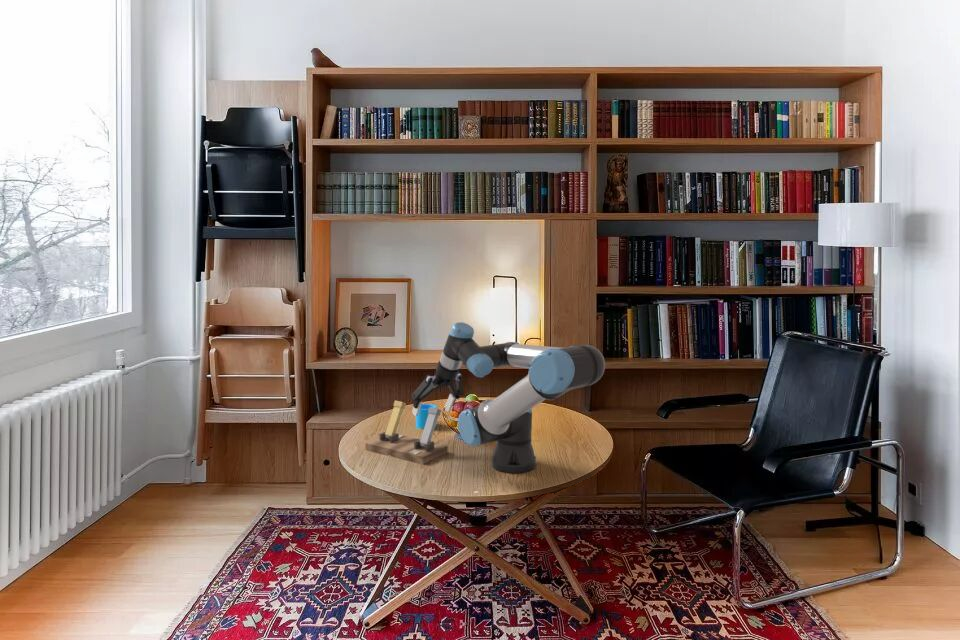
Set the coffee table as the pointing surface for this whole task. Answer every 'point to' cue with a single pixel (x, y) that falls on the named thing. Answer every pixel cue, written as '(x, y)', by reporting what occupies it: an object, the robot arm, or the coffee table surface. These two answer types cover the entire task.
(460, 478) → the coffee table surface
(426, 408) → the mug
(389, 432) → the ochre lever
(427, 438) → the grey lever
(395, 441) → the console
